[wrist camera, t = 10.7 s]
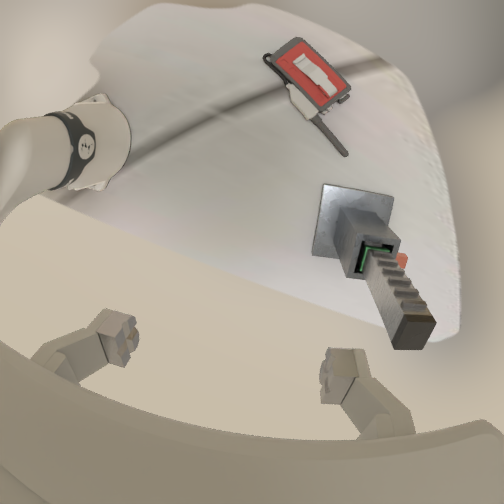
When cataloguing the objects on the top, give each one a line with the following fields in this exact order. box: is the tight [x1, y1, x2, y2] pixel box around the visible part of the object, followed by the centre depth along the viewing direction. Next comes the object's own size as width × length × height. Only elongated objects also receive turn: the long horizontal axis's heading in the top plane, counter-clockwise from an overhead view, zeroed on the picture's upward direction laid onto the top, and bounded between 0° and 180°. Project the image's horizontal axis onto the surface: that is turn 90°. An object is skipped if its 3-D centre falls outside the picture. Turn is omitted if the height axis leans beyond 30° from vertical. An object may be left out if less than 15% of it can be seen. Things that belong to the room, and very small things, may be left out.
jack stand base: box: [312, 184, 408, 280], centre depth 38 cm, size 12×12×13 cm
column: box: [357, 240, 436, 350], centre depth 28 cm, size 3×4×20 cm
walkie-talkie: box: [263, 37, 351, 157], centre depth 34 cm, size 9×4×20 cm
